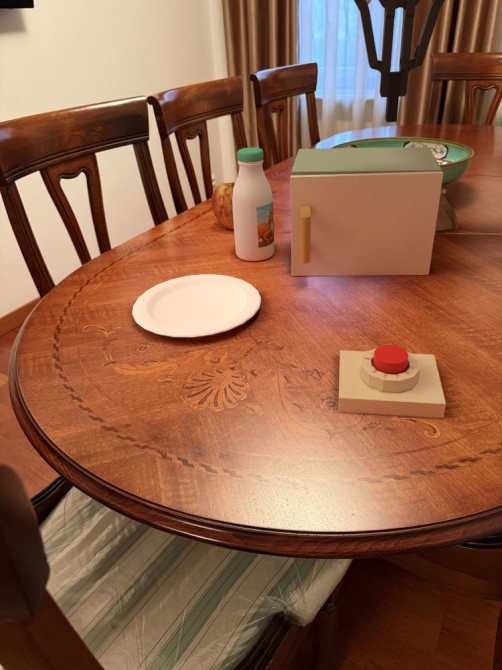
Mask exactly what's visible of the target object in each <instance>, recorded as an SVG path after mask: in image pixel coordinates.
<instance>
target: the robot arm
mask: <svg viewBox="0 0 502 670" xmlns="http://www.w3.org/2000/svg"><path fill="white" fill-rule="evenodd" d="M445 1H446V0H430V2H429V5H428V8H427V12H426V14H425V18H424V21H423V24H422V27H421V31H420V33H419V38H418V41H417V43H416V47H415V50H414V54H413V55H412V46H413V45H412V44H413V35H414V34H413V33H414V23H415V16H416V15H415V14H416V6H418V4H420V2H421V0H378V3H379V4H380V6H381V7H382V8H383V29H382V43H381V44H382V46H381V59H378V52H377V47H376V41H375V35H374V28H373V22H372V16H371V12H370V11H371V10H370V7H369V5H370V3H372V0H353V2H354V4H355V5H356V8H357V9H358V11H359V16H360V20H361V27H362V33H363V38H364V44H365V51H366V57H367V62H368V66H369V68H370V69H371V70H374V71H378V72H379V73H380V76H379V77H380V78H379V79H380V80H379V83H380V84H379V96H380V97H381V98H386V99H385V101H386V102H385V103H386V104H385V116H384V118H385V119H384V120H385V122H386V123H398V112H399V101H400V97H406V96H407V94H408V85H409V73H410V72H411V71H412V70H413V69H414V70H415V69H416V68H418V67H422V66H423V64H424V61H425V58H426V55H427V51H428V49H429V45H430V43H431V40H432V36H433V33H434V31H435V27H436V24H437V20H438V17H439V14H440V11H441V8H442V6H443V4H444V2H445ZM397 9H402V25H401V34H400V35H401V37H400V50H399V62H398V63H399V64H398V71H391V70H392V60H393V59H392V58H393V45H394V31H395V21H396V20H395V19H396V10H397ZM411 55H412V56H411Z"/></svg>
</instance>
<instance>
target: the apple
mask: <svg viewBox="0 0 502 670" xmlns="http://www.w3.org/2000/svg"><path fill="white" fill-rule="evenodd" d="M235 183H236V181H235V182H234V181H232V182H224V183H220V184H218V185H217V186H216V187H215V188H214V190H213V192H212V195H211V208H212V211H213V214H214V216H215V218H216V220H217V222H218V223H219V224H220V226H222V227H223V228H224V229H226V230H227V229H228V230H231V231H232V230H233V231H234V222H233V203H232V197H233V189H234V186H235Z"/></svg>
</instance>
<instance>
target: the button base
mask: <svg viewBox="0 0 502 670" xmlns="http://www.w3.org/2000/svg"><path fill="white" fill-rule="evenodd" d="M377 348H378V347H376V348H372V349H369V350H367V351H366V350H365V351H364V350H360V351H359V350H345V349H344V350H341V349H340V350H339V365H338V366H339V367H338V368H339V371H338V405H337V406H338V409H337V410H338V413H349V414H351V413H352V414H367V415H384V416H386V415H387V416H399V417H400V416H401V417H403V416H404V417H420V418H435V419H444V417H445V413H446V405H447V402H446V397H445V393H444V390H443V385H442V382H441V381H442V380H441V377H440V374H439V373H440V372H439V369H438V364H437V361H436V356H435V354H431V353H414V352H413V353H411V352H410V351H407V352H408V355H409V357H408V364H407V369H406V371H405V372H404V373H401V374H397V375H393V374H385V373H382V372H380V371H377V370H376V369H375V368H374V366H373V361H374V352H375V350H376V349H377Z"/></svg>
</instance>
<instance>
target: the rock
mask: <svg viewBox="0 0 502 670" xmlns="http://www.w3.org/2000/svg"><path fill="white" fill-rule="evenodd" d="M458 229H459V223H458V220H457V215H456V212H455V209H454V208H453V207H452V206H451V205H450V203H449V201H448V199H447V197H446V196H445V193H444V192H443V191H441V193H440V200H439V207H438V214H437V221H436V228H435V235H434V236H437V235H443V234H445V233H446V230H458Z"/></svg>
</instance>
